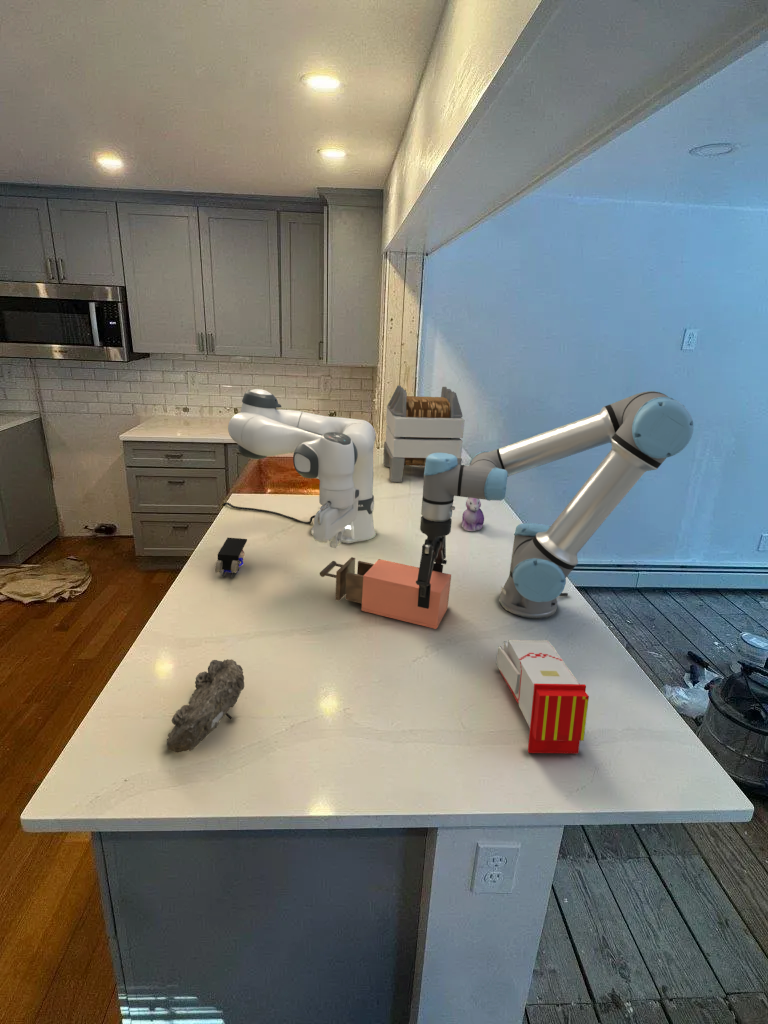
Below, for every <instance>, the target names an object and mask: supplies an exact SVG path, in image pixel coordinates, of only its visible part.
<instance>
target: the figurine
mask: <svg viewBox="0 0 768 1024" xmlns="http://www.w3.org/2000/svg"><path fill="white" fill-rule="evenodd" d="M465 507H466V509H465V510H464V511H463V513H462V516H461V517H462V518H461V519H462V520H461V527H462V528H463V530H464V531H469V532H475V531H480V530H481V529H482V528H484V523H485V515H484V512H483V510H482V509H481V507H482V502H481V499H477V498H468V497H467V499H466V501H465Z"/></svg>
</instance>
